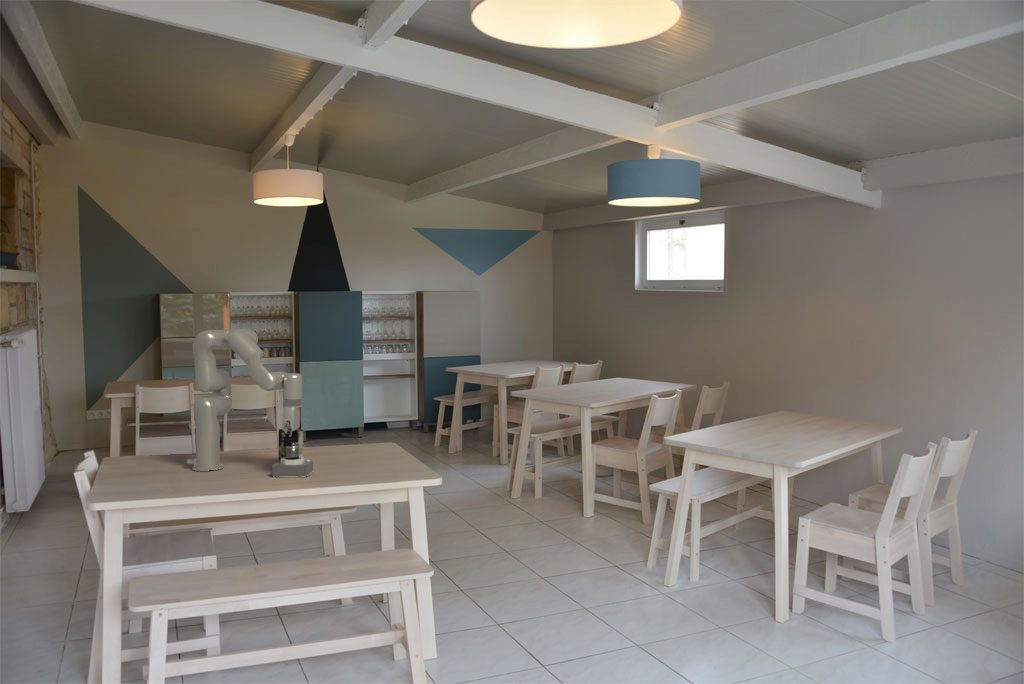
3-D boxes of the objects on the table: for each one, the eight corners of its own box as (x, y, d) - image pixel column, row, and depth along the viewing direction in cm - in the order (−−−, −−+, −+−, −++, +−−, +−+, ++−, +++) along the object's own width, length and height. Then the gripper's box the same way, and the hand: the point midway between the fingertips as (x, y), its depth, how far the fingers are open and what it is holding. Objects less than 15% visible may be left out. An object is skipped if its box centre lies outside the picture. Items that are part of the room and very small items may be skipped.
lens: (284, 464, 312) (284, 444, 312) (288, 461, 317) (288, 442, 317) (296, 464, 312) (296, 444, 312) (300, 461, 317) (300, 442, 317)
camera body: (272, 477, 310) (272, 460, 309) (279, 472, 320) (279, 456, 319) (306, 477, 310) (306, 460, 309) (312, 472, 320) (312, 456, 319)
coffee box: (277, 465, 335) (277, 429, 334) (288, 463, 341) (288, 427, 340) (293, 467, 331) (293, 430, 330) (303, 465, 336) (303, 429, 336)
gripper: (289, 400, 323) (288, 440, 323) (276, 405, 305) (275, 447, 306) (307, 401, 323) (305, 441, 323) (295, 406, 305) (294, 448, 306)
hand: (291, 444), depth 314 cm, fingers open, 9 cm apart
